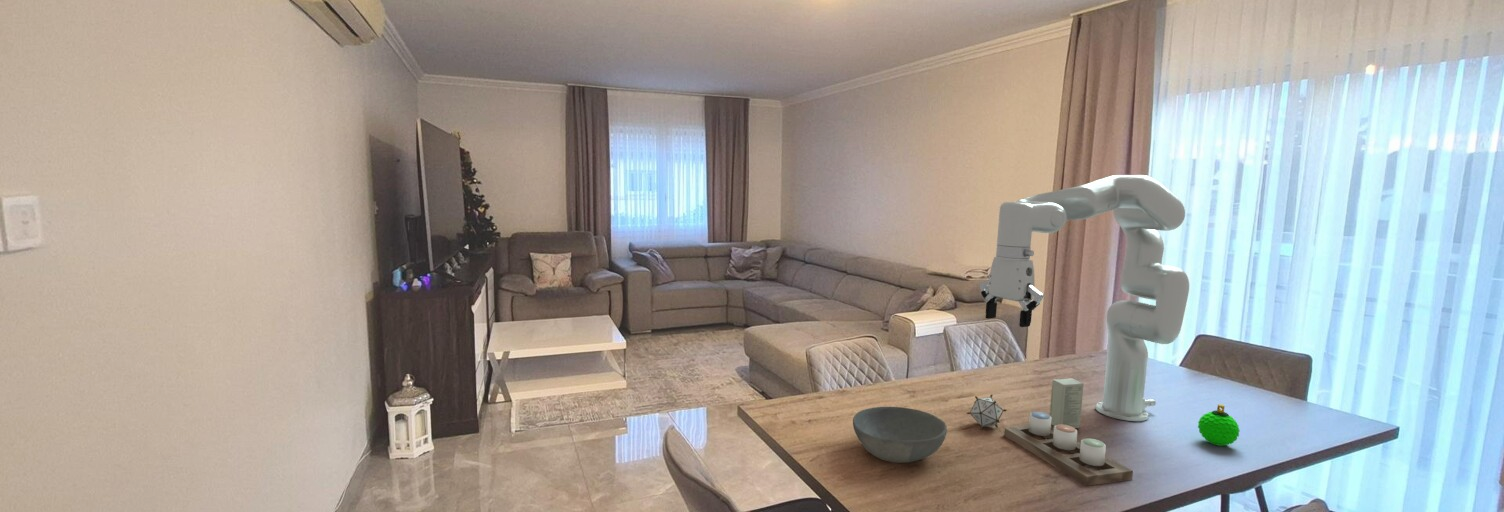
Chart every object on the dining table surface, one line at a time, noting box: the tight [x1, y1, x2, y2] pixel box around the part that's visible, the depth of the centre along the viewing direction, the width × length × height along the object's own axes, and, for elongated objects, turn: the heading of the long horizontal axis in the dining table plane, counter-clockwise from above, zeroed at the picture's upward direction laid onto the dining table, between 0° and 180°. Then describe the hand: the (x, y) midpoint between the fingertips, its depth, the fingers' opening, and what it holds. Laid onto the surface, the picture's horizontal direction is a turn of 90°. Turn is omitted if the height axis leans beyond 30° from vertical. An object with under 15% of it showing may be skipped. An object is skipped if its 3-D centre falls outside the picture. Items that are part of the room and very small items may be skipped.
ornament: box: [1197, 404, 1241, 447], centre depth 149 cm, size 8×8×10 cm
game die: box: [966, 393, 1008, 431], centre depth 157 cm, size 9×8×10 cm
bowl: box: [852, 406, 948, 464], centre depth 139 cm, size 21×21×8 cm
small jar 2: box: [1053, 424, 1078, 451], centre depth 141 cm, size 5×5×4 cm
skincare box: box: [1049, 377, 1084, 429], centre depth 159 cm, size 6×4×12 cm
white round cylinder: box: [1079, 437, 1107, 467], centre depth 133 cm, size 5×5×4 cm
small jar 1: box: [1028, 411, 1052, 437], centre depth 148 cm, size 5×5×4 cm
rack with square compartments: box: [1003, 424, 1134, 487], centre depth 141 cm, size 12×26×2 cm, turn 15°
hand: (1007, 322), depth 149 cm, fingers open, 9 cm apart
